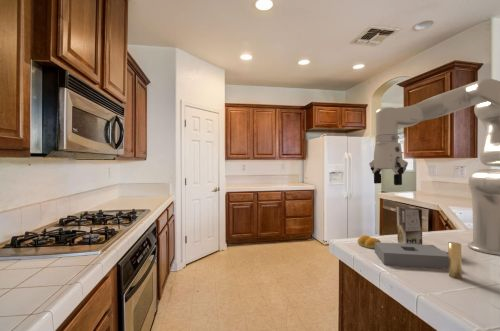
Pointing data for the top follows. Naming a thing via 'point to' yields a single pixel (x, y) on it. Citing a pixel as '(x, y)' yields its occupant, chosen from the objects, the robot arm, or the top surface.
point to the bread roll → (367, 241)
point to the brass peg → (455, 260)
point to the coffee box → (409, 225)
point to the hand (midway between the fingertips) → (387, 184)
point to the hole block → (411, 255)
